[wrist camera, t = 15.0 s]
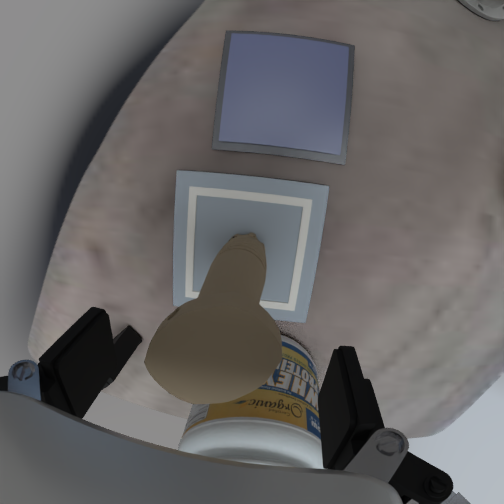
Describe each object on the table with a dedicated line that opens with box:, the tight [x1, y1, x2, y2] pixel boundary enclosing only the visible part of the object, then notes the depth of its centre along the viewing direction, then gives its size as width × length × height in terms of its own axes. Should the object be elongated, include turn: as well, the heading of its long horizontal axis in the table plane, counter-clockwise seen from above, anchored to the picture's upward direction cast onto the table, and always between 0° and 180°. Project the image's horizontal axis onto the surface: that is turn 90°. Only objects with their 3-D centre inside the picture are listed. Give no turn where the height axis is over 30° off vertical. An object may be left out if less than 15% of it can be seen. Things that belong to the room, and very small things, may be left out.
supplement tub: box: [178, 335, 324, 469], centre depth 23 cm, size 12×12×17 cm
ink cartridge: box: [102, 326, 142, 390], centre depth 28 cm, size 5×2×8 cm, turn 130°
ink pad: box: [212, 31, 355, 165], centre depth 22 cm, size 11×11×2 cm
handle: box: [144, 232, 282, 404], centre depth 19 cm, size 5×6×15 cm
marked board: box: [173, 170, 329, 323], centre depth 26 cm, size 13×13×1 cm
